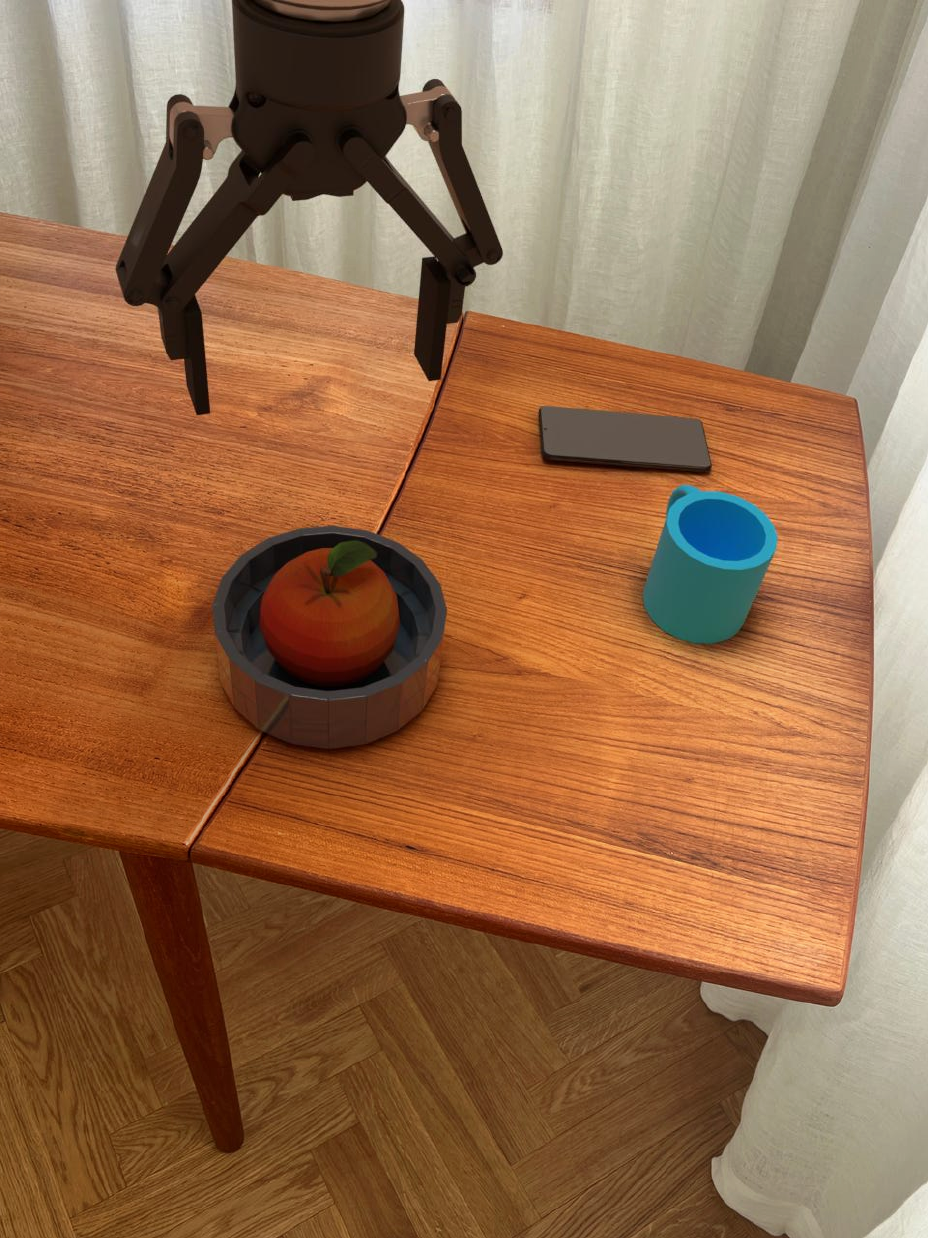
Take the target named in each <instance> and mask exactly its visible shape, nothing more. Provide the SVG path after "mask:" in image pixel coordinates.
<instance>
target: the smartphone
mask: <svg viewBox="0 0 928 1238" xmlns="http://www.w3.org/2000/svg"><path fill="white" fill-rule="evenodd" d="M537 413H538V415H537V416H538V427H539V439H540V448H541V449H540V450H541V456H542V458H544V459H545V460H547V461H554V462H555V461H556V462H567V463H581V464H593V465H594V464H595V465H605V466H606V465H607V466H616V467H617V466H618V467H621V466H622V467H630V468H642V469H643V468H644V469H655V470H656V469H657V470H666V471H667V470H668V471H683V472H693V473H694V472H695V473H708V472H711V470H712V467H713V464H712V460H711V455H710V451H709V448H708V442H707V437H706V433H705V429H704V424H703V421H702V420H700V419H699V418H695V417H684V416H673V415H672V416H671V415H659V414H650V413H649V414H647V413H636V412H623V411H612V410H598V409H589V408H588V409H587V408H575V407H564V406H554V405H553V406H551V405H542V406H540V407H539V409H538V412H537Z"/></svg>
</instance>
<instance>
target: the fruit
mask: <svg viewBox="0 0 928 1238" xmlns="http://www.w3.org/2000/svg"><path fill="white" fill-rule="evenodd" d="M376 557H377V552H376V551H375V550H374V549H372V548H371V547H370V546H368V545H367V544H366V543H363V542H360V541H358V540H354V541H348V542H341V543H339V544H338V545H337V546H335V547H334V548H321V549H317V550H313V551H308V552H306V553H304V554H302V555H300V556H298V557H297V558H295V559H293V560H291V561H290V562H288V563H286V564H285V565H284V566H283V567H282V568H281V569H280V570H279V571H278V572H277V573H276V574H275V575H274V577H273V579H272V580H271V582H270V584H269V585H268V587H267V589H266V591H265V593H264V594H263V596H262V601H261V610H260V623H259V625H260V629H261V632H262V635H263V638H264V640H265V643H266V645H267V648H268V650H269V652H270V654H271V655H272V656H273V657H274V658H275V659H276V661H277V662H278V663H279V664H280V665H281V666H282V667H283V668H284V669H285V670H286V671H287V672H288V673H289V674H291V675H293V676H294V677H296V678H298V679H300V680H302V681H304V682H306V683H310V684H315V685H319V686H324V687H325V686H344V685H348V684H351V683H354V682H358V681H361V680H363V679H364V678H366V677H367V676H369V675H371V674H372V673H374V672H375V671H376V670H377V669H378V668H379V667H380V666H381V664H382V663H383V662H384V661H385V659H386V658H387V657H388V656H389V655H390V653H391V652H392V650H393V647H394V644H395V640H396V637H397V633H398V630H399V626H400V618H399V610H398V602H397V595H396V593H395V591H394V589H393V588H392V586H391V584H390V582H389V580H388V578H387V577H386V575H385V573H384V572H383V571H382V570H381V569H380V568H379V567H378V566H377V565H376V564H375V563H374V562H372V561H371V559H374V558H376Z"/></svg>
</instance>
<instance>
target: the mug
mask: <svg viewBox="0 0 928 1238" xmlns="http://www.w3.org/2000/svg"><path fill="white" fill-rule="evenodd" d="M665 511H666V512H665V521H664V524H663V527H662V530H661V534H660V537H659V540H658V543H657V546H656V549H655V551H654V554H653V558H652V562H651V564H650V568H649V571H648V574H647V578H646V579H645V583H644V587H643V591H642V596H641V597H642V601H643V606H644V610H645V612H646V613H647V614H648V616H649V618H650V619H651V621H652V622H653V623H654V624H656V626H658V627H659V628H660V629H661V630H662V631H663V632H665V633H667V634H669V635H671V636H673V637H674V638H676V639H678V640H681V641H685V642H688V643H693V644H700V645H701V644H702V645H704V644H705V645H712V644H713V645H714V644H717V643H721V642H725V641H728V640H729V639H731V638H732V637H734V636H736V635H737V634H738V633H739V631H741V629H742V627H743V625H744V624H745V622H746V621H747V618H748V615H749V613H750V610H751V608H752V606H753V604H754V602H755V599H756V597H757V594H758V593H759V590H760V587H761V585H762V583H763V581H764V578H765V576H766V573H767V572H768V569H769V567H770V564H771V562H772V560H773V558H774V556H775V553H776V551H777V546H778V539H779V537H778V534H777V530H776V527H775V525H774V523H773V522H772V521H771V519H770V518H769V517H768V515H767V514H766V512H764V511H762V510H761V508H759V507H757V506H756V505H755V504H754V503H752V502H750V501H748V500H746V499H744V498H743V497H740V496H738V495H734V494H732V493H727V492H724V491H723V492H722V491H715V490H714V491H712V490H701V489H699V488H698V487H696V486H694V485H691V484H690V485H689V484H681V485H679V486H678V487H676V488H675V489H673V490H672V492H671V494H670V496H669V498H668V500H667V505H666V510H665Z"/></svg>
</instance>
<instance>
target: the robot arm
mask: <svg viewBox="0 0 928 1238" xmlns="http://www.w3.org/2000/svg"><path fill="white" fill-rule="evenodd" d="M231 14H232V33H233V35H232V36H233V53H234V55H233V57H234V76H235V85H234V86H235V87H234V92H233V95H232V97H231V100H230V102H229V104H228V106H214V105H213V106H210V105H195V104H194V103H193V102H192V99H191V98H190V97H189V96H187V95H186V94H181V93H178V94H177V93H176V94H174V95H172V96H171V97H170V98H169V99H168V101H167V103H166V115H165V116H166V119H165V127H166V128H165V144H164V146H163V149H162V151H161V153H160V156H159V158H158V160H157V163H156V166H155V168H154V171H153V173H152V175H151V178H150V180H149V183H148V185H147V188H146V190H145V193H144V195H143V198H142V200H141V203H140V205H139V208H138V210H137V213H136V215H135V218H134V220H133V222H132V225H131V228H130V230H129V232H128V234H127V237H126V240H125V242H124V245H123V247H122V250H121V252H120V255H119V257H118V259H117V262H116V264H115V273H116V278H117V280H118V284H119V287H120V290H121V293H122V296H123V299H124V301H125V302H126V304H128V305H129V306H131V307H140V306H143V305H144V304H149V305H152V306H155V307H156V308H157V312H158V313H157V314H158V321H159V330H160V338H161V340H162V344H163V347H164V350H165V354H166V355H167V357H168V358H169V360H170V361H179V360H183V364H184V375H185V383H186V388H187V391H188V395H189V397H190V401H191V403H192V406H193V409H194V412H195V415H196V416H202V415H209V414H211V403H210V394H209V382H208V370H207V358H206V347H205V337H204V336H205V335H204V334H205V333H204V323H203V313H202V309H201V308H200V304H199V302H198V299H197V295H196V294H197V293H198V292H199V290H200V289H201V288H202V286H203V285H204V284H205V283H206V282H207V280H209V278H210V277H211V276H212V274H213V273H214V272H215V270H216V269H217V268H218V267H219V265H220V264H221V263H222V261H223V260H224V259H225V258H226V257H227V256H228V254H229V253H230V251H232V249H234V247H235V246H236V244H237V243H238V242H239V241H240V239H241V238H242V236H243V235H245V233H246V232H247V230H248V229H249V228H250V226H252V224H253V223H254V222H255V220H256V219H257V218H258V217H260V216H265V215H266V214H268V213H269V211H271V209H272V208H273V207H274V205H275V204H276V203H277V201H278V200H279V199H280V198H281V196H282V195H284V196H286V197H290V200H291V201H292V202H299V201H307V200H311V199H314V198H316V197H319V196H323V195H324V196H331V197H337V198H343V197H352V196H354V195H355V194H354V193H355V192H354V191H356V190H358V189H360V188H362V187H363V186H364V185H365V184H366V183H368V184H369V186H371V188H372V189H373V190H374V191H375V192H376V193H377V194H378V196H379V197H380V198H381V199H382V200H383V201H384V202H385V204H387V205H389V206H390V208H391V209H392V210H393V211H394V212H395V213H396V214H397V215H398V217H399V218H400V219H401V220H402V221H403V222H404V224H406V225H407V227H408V228H409V229H410V231H411V232H412V233H414V235H415V236H416V237H417V238H418V239H419V240H420V242H421V243H422V244H423V245H424V246H425V247H426V248H427V250H428V251H429V252H430V253H431V254H432V255H433V256H424V257H422V258H421V266H420V267H421V268H420V279H419V291H418V302H417V312H416V313H417V314H416V323H415V324H416V325H415V335H414V336H415V338H414V348H413V355H414V357H415V359H416V361H417V363H418V365H419V366H420V369H421V370H422V372H423V373H424V375H425V377H426V379H427V381H428V382H435V381H441V380H442V371H443V363H444V353H445V346H446V345H445V344H446V336H447V326H448V325H449V324H450V325H451V324H456V323H459V321H460V319H461V317H462V316H463V307H464V299H465V291H466V288H467V287H470V285H472V284H473V283H474V282H475V281H476V278H477V272H476V270H475V268H476V267H478V266H479V265H482V264H485V265H487V266H493V265H496V264H498V263H499V262H500V261H501V260H502V258H503V256H504V250H503V248H502V245H501V242H500V239H499V237H498V234H497V232H496V229H495V227H494V224H493V221H492V218H491V216H490V214H489V211H488V208H487V206H486V203H485V200H484V197H483V195H482V193H481V191H480V187H479V185H478V183H477V180H476V177H475V174H474V172H473V169H472V167H471V163H470V161H469V159H468V156H467V155H466V152H465V149H464V147H463V111H462V106H461V105H460V104H459V102H458V101H457V100H456V98H455V97H454V95H453V94H452V92H451V91H450V90H449V89H448V88H447V86H446V85H445V84H444V82H443V81H442V80H440V79H439V78H432V79H429V80H428V81H427V82H426V83H425V84H423V87H422V90H421V91H419V92H413V93H407V94H402V95H400V81H401V76H402V75H401V73H402V59H403V58H402V57H403V43H404V42H403V41H404V27H405V26H404V25H405V24H404V23H405V4H404V2H403V1H402V0H231ZM407 125H409V126H412V127H413V129H414V130H415V133H416V134H417V135H418V137H419V138H420V139H421V140H422V141H425V142H427V144H428V145H429V147H430V149H431V152H432V155H433V158H434V159H435V163H436V164H437V167H438V169H439V172H440V174H441V176H442V179H443V181H444V184H445V186H446V189H447V191H448V193H449V196H450V198H451V200H452V203H453V206H454V208H455V210H456V212H457V215H458V217H459V220H460V222H461V225H462V227H463V229H464V232H465V233H464V234H460V235H459V236H456V237H453V235H452V234H451V232H450V231H449V230H448V229H447V228H446V227H445V225H444V224H443V223H442V222H441V221H440V220H439V218H438V217H437V216H436V215H435V214H434V212H433V211H432V210H431V209H430V207H428V205H427V204H426V203H425V202H424V201H423V199H422V197H420V196H419V195H418V193H417V192H416V191H415V190H414V188H412V186H411V185H410V184H409V183H408V182H407V181H406V179H405V178H404V177H403V175H401V173H400V172H399V171H398V169H396V167H395V166H394V165H393V164H392V162H391V161H390V160H389V159H388V157H387V155H388V154H389V153H390V151H391V150H392V149H393V147H394V145H396V143H397V141H398V140H399V139H400V137H401V136H402V134H403V133H404V131H405V129H406V127H407ZM229 138H233V141H234V142H235V144H236V145H237V146H238V148H239V149H240V152H238V154H237V156H236V157H235V158H234V160H233V161H232V162H231V164H230V166H229V168H228V171H227V175H226V178H225V179H224V180H223V182H222V183H221V184H220V186H219V187H218V189H217V190H216V191H215V192H214V193H213V195H212V196H211V198H210V199H209V200H208V201H207V203H206V204H205V205H204V206H203V208H202V209H201V211H200V212H199V213H198V214H197V215H196V217H195V218H194V220H193V221H192V222H191V223H190V224H189V226H188V227H187V229H185V231H184V232H183V234H182V235H181V237H179V239H178V240H177V241H176V243H174V240H175V237H176V235H177V233H178V231H179V228H180V226H181V223H182V221H183V219H184V216H185V214H186V212H187V209H188V207H189V206H190V203H191V200H192V198H193V195H194V194H195V191H196V189H197V186H198V184H199V181H200V179H201V174H202V169H203V163H204V161H210V160H212V159H213V158H214V156H215V154H216V152H217V149H218V147H219V145H220V144H221V142H222V141H224V140H225V139H229ZM173 243H174V245H173ZM172 245H173V246H172ZM171 247H172V248H171Z"/></svg>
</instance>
